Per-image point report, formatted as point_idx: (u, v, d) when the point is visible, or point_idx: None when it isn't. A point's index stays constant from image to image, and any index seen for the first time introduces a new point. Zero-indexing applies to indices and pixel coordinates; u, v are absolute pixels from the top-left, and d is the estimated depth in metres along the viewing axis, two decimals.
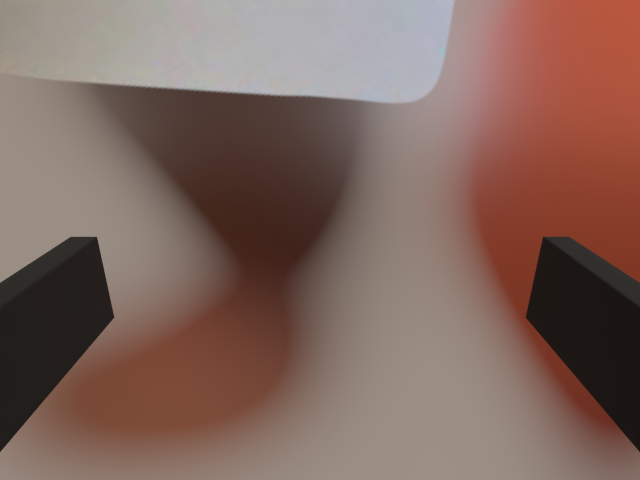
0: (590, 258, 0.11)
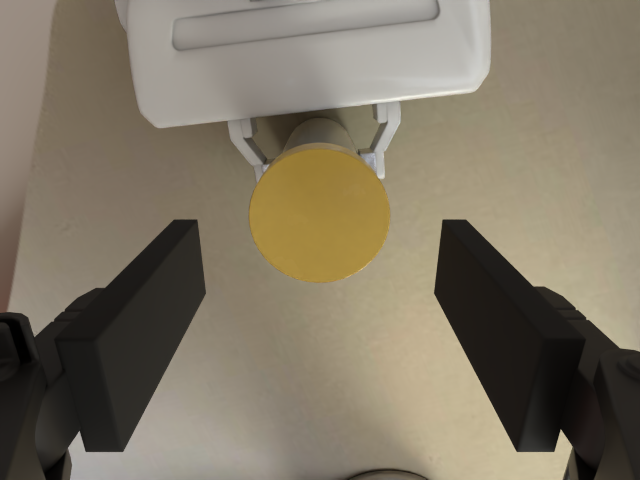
0: (472, 236, 0.12)
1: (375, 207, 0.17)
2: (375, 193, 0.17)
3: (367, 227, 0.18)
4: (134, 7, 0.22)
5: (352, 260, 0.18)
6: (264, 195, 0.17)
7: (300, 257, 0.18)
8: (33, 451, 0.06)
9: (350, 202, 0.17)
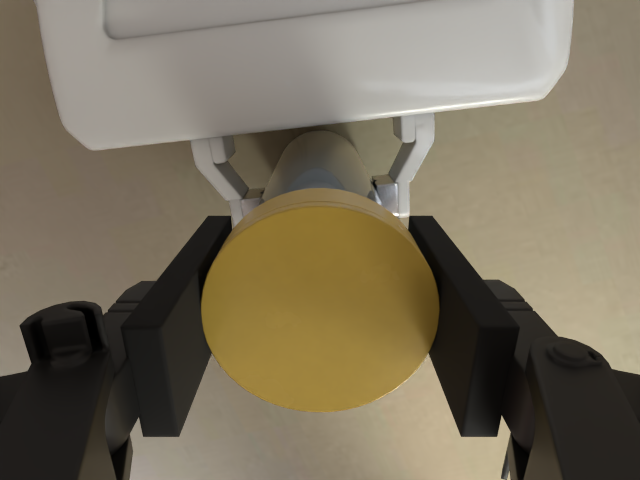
0: (434, 231, 0.12)
1: (415, 301, 0.10)
2: (416, 279, 0.10)
3: (400, 331, 0.10)
4: None
5: (374, 380, 0.11)
6: (225, 282, 0.10)
7: (288, 376, 0.11)
8: (103, 436, 0.06)
9: (373, 293, 0.10)
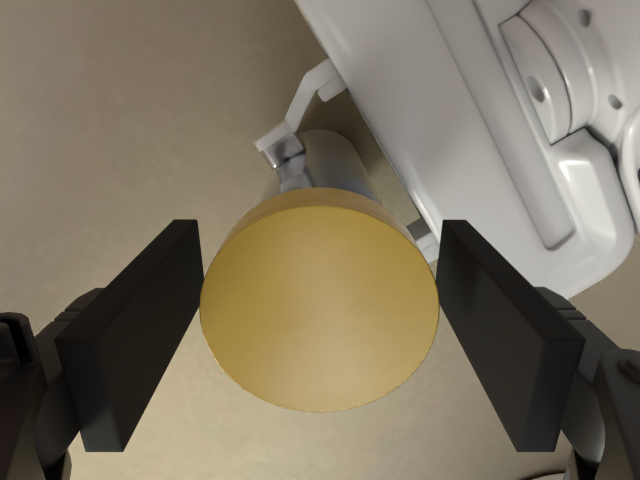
0: (472, 236, 0.12)
1: (380, 248, 0.10)
2: (363, 230, 0.09)
3: (393, 281, 0.10)
4: None
5: (411, 336, 0.10)
6: (224, 342, 0.11)
7: (338, 379, 0.11)
8: (33, 451, 0.06)
9: (339, 268, 0.10)
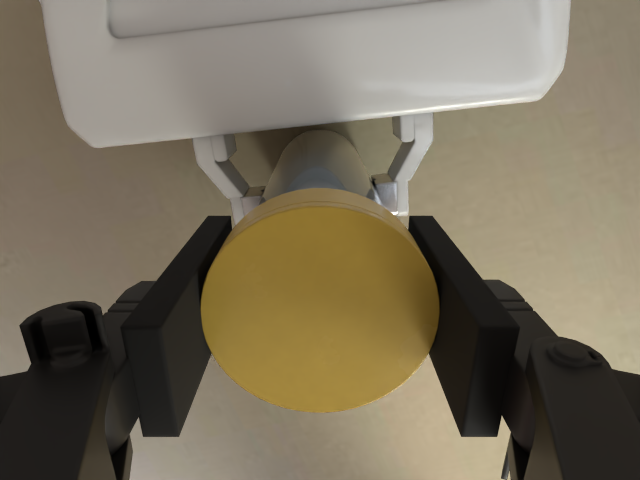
0: (434, 231, 0.12)
1: (272, 241, 0.10)
2: (248, 248, 0.10)
3: (313, 244, 0.10)
4: None
5: (383, 252, 0.10)
6: (301, 398, 0.11)
7: (394, 333, 0.10)
8: (103, 436, 0.06)
9: (276, 282, 0.10)
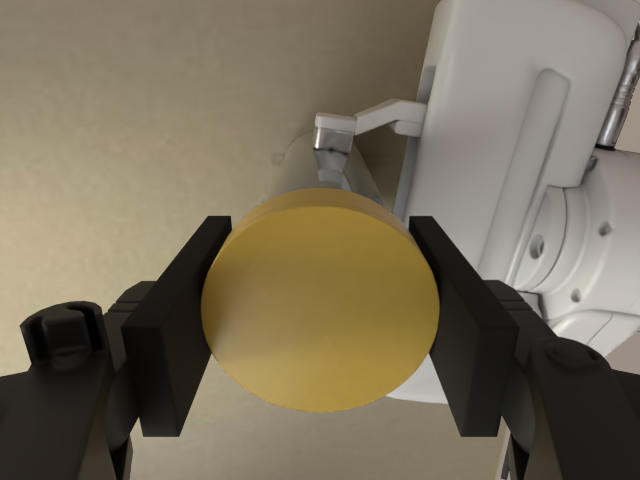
0: (434, 231, 0.12)
1: (273, 241, 0.10)
2: (248, 247, 0.10)
3: (313, 243, 0.10)
4: (610, 32, 0.16)
5: (383, 252, 0.10)
6: (301, 397, 0.11)
7: (394, 333, 0.10)
8: (103, 436, 0.06)
9: (276, 281, 0.10)
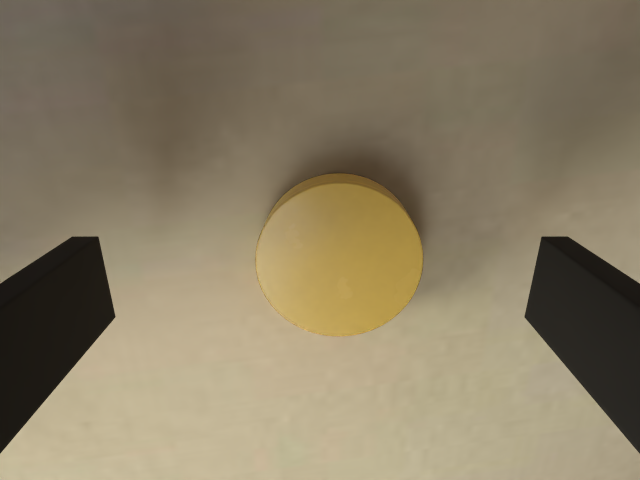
0: (588, 258, 0.11)
1: (307, 207, 0.14)
2: (290, 212, 0.14)
3: (335, 209, 0.14)
4: None
5: (383, 216, 0.14)
6: (324, 324, 0.16)
7: (391, 275, 0.15)
8: None
9: (309, 236, 0.14)
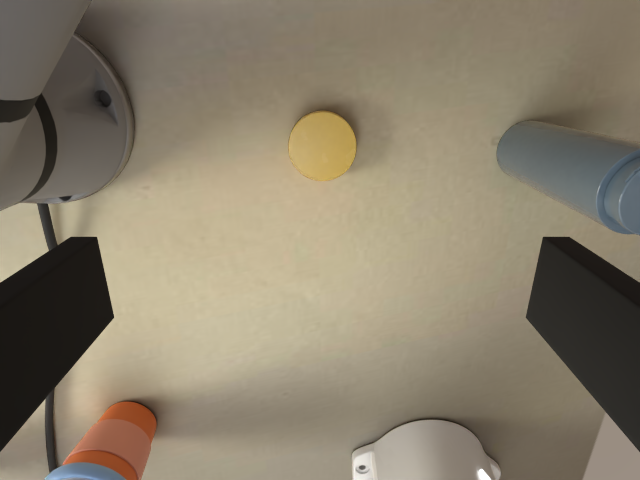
0: (590, 258, 0.11)
1: (309, 122, 0.35)
2: (302, 124, 0.35)
3: (320, 123, 0.35)
4: None
5: (339, 125, 0.36)
6: (316, 175, 0.37)
7: (343, 152, 0.36)
8: None
9: (310, 135, 0.36)
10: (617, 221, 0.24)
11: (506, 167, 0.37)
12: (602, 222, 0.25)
